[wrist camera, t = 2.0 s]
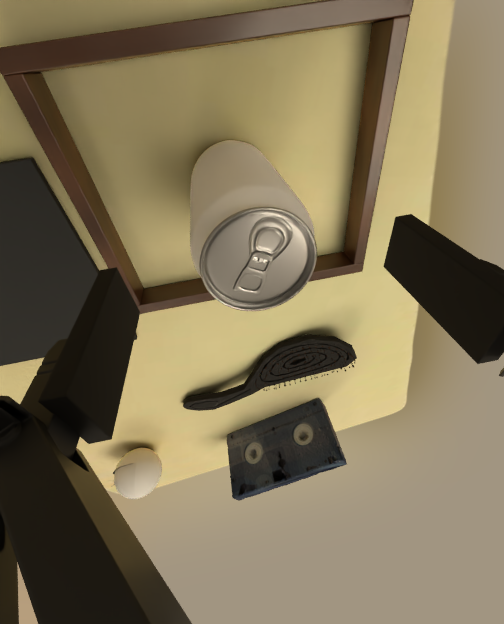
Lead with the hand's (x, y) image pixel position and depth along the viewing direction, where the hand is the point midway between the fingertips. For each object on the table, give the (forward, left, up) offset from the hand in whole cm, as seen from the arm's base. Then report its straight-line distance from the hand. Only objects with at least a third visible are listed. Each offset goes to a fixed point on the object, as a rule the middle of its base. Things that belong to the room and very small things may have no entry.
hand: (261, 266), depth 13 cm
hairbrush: (+25, 0, -12) cm, 28 cm away
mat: (+5, -21, -12) cm, 25 cm away
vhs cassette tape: (+40, +1, -12) cm, 42 cm away
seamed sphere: (+41, -24, -12) cm, 49 cm away
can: (0, 0, -12) cm, 12 cm away
